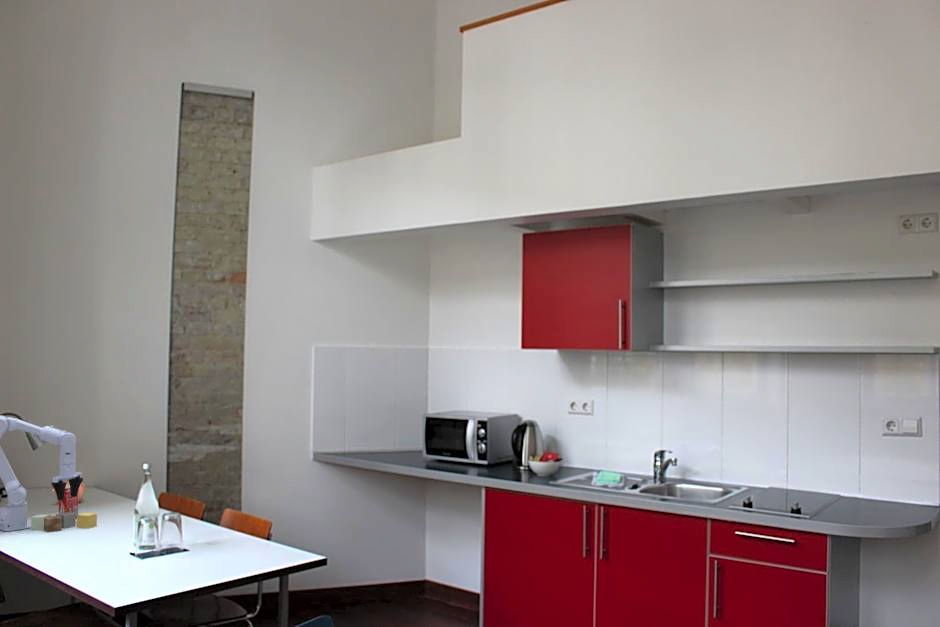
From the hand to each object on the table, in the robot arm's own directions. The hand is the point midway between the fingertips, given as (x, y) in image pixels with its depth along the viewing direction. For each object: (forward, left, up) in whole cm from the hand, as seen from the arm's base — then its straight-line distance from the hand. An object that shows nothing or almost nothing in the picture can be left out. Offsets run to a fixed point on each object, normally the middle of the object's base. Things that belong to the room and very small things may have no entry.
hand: (67, 498), depth 347 cm
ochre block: (+3, -9, -11) cm, 15 cm away
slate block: (-2, -3, -11) cm, 11 cm away
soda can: (+6, +12, -11) cm, 17 cm away
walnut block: (-8, -6, -11) cm, 15 cm away
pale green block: (-10, 0, -11) cm, 14 cm away
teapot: (+22, +46, -11) cm, 52 cm away
